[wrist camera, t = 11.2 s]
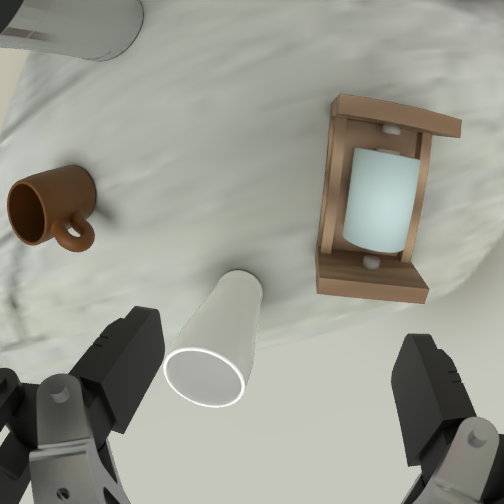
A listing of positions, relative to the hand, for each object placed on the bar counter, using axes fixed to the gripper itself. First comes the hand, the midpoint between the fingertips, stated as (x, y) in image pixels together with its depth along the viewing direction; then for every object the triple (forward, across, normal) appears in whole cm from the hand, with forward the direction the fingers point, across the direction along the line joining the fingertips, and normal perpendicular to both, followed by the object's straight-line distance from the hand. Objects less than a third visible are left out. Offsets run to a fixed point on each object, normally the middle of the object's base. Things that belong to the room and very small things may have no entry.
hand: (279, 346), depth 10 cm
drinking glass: (+24, +5, +12) cm, 27 cm away
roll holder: (+23, -8, -1) cm, 25 cm away
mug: (+24, +25, +2) cm, 35 cm away
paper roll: (+22, -8, -1) cm, 24 cm away
